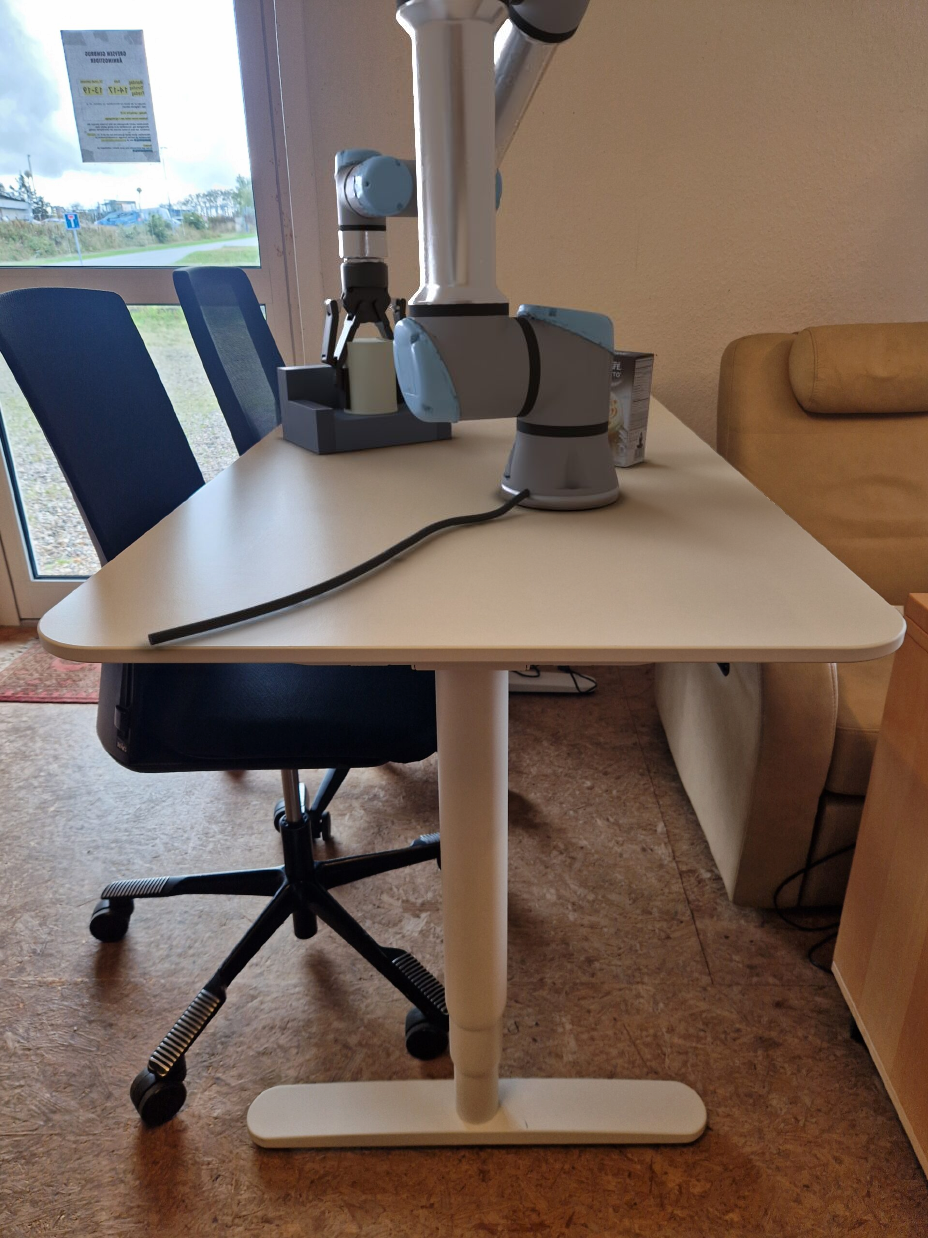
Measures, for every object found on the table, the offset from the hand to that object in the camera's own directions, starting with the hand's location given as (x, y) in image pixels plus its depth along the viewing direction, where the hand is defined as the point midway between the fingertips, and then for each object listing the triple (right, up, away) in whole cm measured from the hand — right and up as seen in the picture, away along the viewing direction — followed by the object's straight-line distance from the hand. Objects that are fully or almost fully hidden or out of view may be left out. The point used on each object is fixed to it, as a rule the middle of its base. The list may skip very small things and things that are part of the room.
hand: (370, 405), depth 140 cm
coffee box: (+39, -12, -13) cm, 42 cm away
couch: (-1, -5, +4) cm, 6 cm away
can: (0, -1, 0) cm, 1 cm away
